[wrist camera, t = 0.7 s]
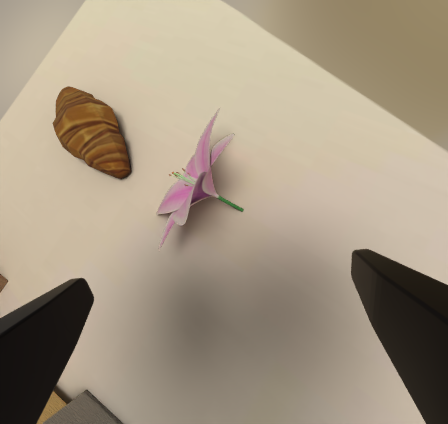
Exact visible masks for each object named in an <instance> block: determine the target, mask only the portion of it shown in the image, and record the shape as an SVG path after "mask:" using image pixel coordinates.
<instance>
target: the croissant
mask: <svg viewBox="0 0 448 424" xmlns="http://www.w3.org/2000/svg"><path fill="white" fill-rule="evenodd" d="M53 126H54V129H55V132H56V135H57V137H58V139H59V141H60V142H61V144H62V146H63V147H64V148H65V149H66V150H67V151H68V152H70V153H71V154H72V155H73V156H74V157H77V158H80V159H83V160H84V161H85V162H86V163H87V165H88V166H90V167H92V168H94V169H97V170H99V171H101V172H104V173H106V174H109V175H111V176H114V177H116V178H119V179H122V178H125V177H127V176H128V175H129V173H130V172H131V168H130V162H129V158H128V154H127V150H126V147H125V142H124V138H123V137H122V135H121V134H120V133H119V127H118V122H117V120H116V117H115V115H114V112H113V110H112V108H111V107H110V106H108V105H107V104H105V103H104V102H102V101H100V100H97V99H95V98H94V97H93V95H92V94H89V93H86V92H84V91H81V90H78V89H76V88H73V87H66V88H63V89H62V90H61V92H60V93H59V95H58V98H57V100H56V119H55V120H54V122H53Z"/></svg>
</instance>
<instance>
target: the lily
mask: <svg viewBox="0 0 448 424" xmlns="http://www.w3.org/2000/svg"><path fill="white" fill-rule="evenodd" d="M219 109H220V108H219ZM219 109H218V110H217V112H216V113H215V114H214V116H213V117H212V119H211V120H210V122H209V123H208V125H207V126H206V128H205V130H204V132H203V133H202V135H201V137H200V140H199V142H198V144H197V148H196V152H195V155H193V156H192V157H191V159H190V161H189V162H188V164H187V166H186V169H185V170H184V169H183V168H182V169H183V171H184V175H183V177H182V175H181V174H180V173H178V172H176V173H178V174H179V175H178V174H176V173H174V172H172V174H174V175H175V176H174V177H176V176H177V177H176V178H178V177H180V178H179V180H178V181H177V182H175V183H174V184H173V185H172V187H171V188H170V189H169V190H168V192H167V193H166V195H165V197H164V198H163V200H162V202H161V204H160V206H159V208H158V211H157V213H156V215H158V214H165V213H170V212H172V214H171V215H170V217H169V219H168V221H167V223H166V226H165V228H164V231H163V234H162V237H161V241H160V244H159V250H160V248H161V246H162V244H163V242H164V240H165V238H166V236H167V235H168V233H169V231H170V229H171V227H172V226H173V224H174V223H176V224H178V225H180V226H182V225H184V224H185V222H186V219H187V217H188V212H189V208H190V206H192V205H193V204H195V203H197V202H199V201H201V200H203V199H206V198H208V197H212V196H213V197H216V198H217V199H219V200H221V201H223V202H225V203H226V204H228V205H230V206H232V207H234V208H236V209H238V210H240V211H243V209H242V208H240V207H239V206H237V205H235V204H233V203H231V202H229V201H228V200H226V199H224V198H222V197H221V196H219V195H218V194H217V193H216V191H215V188H214V184H213V178H212V173H211V167H210V165H211V166H212V164H213V163H214V162H215V160H216V159H217V157H218V156H219V155H220V153H221V152H222V151H223V150H224V148H225V147H226V146H227V145H228V143H229V142H230V141H231V140H232V138H233V137H234V135H235V134H234V133H233V134H230V135H228V136H226V137H224V138H223V139H221V140H220V141H219V142H217V143H216V144H215V145H214V147H213V149H212V150H211V156H210V137H211V132H212V127H213V124H214V122H215V119H216V117H217V114H218V112H219ZM169 175H170V174H169ZM180 175H181V176H180ZM170 176H173V175H170ZM181 178H182V179H181Z"/></svg>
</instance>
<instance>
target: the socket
mask: <svg viewBox="0 0 448 424" xmlns="http://www.w3.org/2000/svg"><path fill="white" fill-rule="evenodd" d="M7 282H8V281H7V280H6V279H5V278H4V277H3V276H2V275H1V274H0V292H1V290H2V289H3V287H4V286H5V284H6V283H7Z"/></svg>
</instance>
